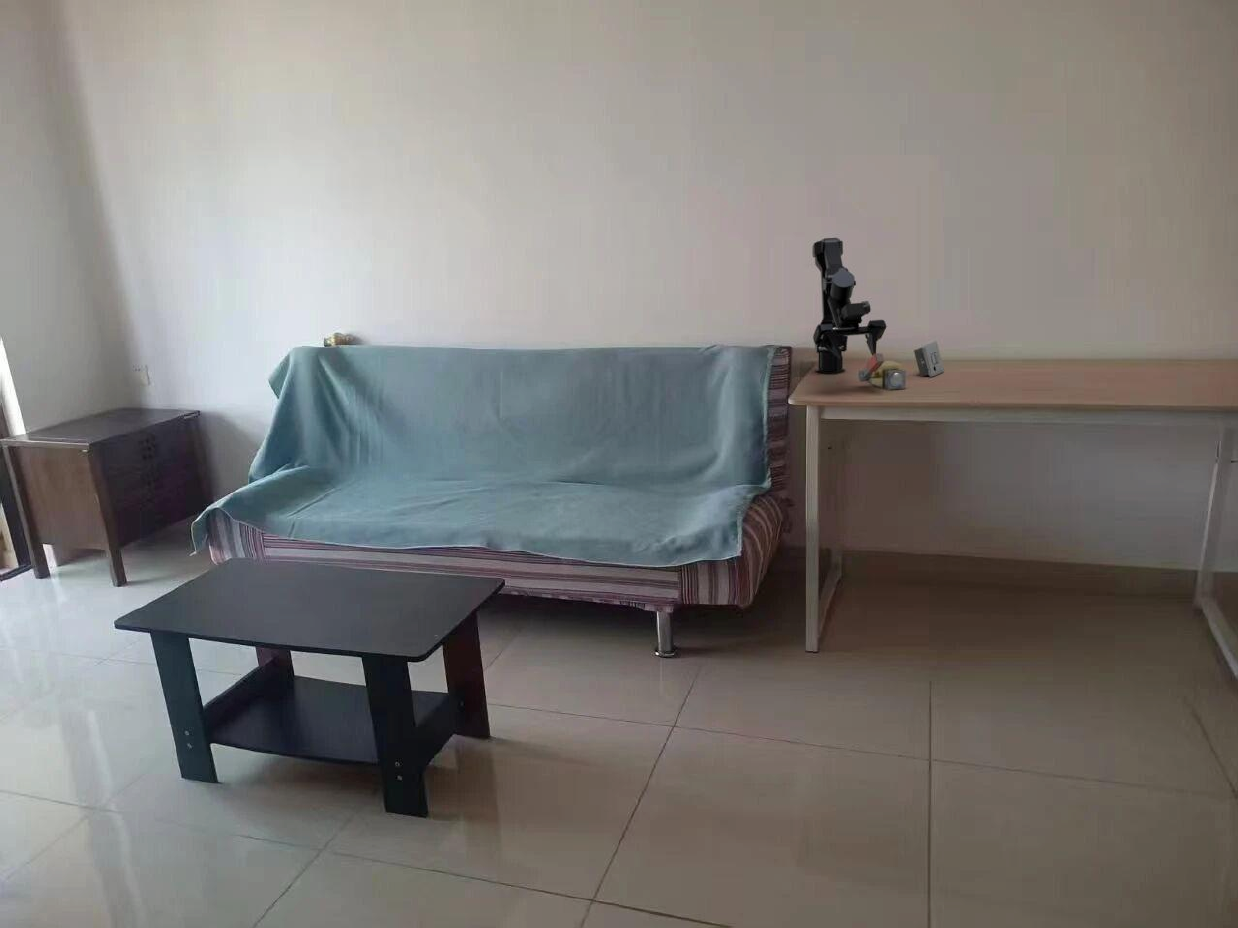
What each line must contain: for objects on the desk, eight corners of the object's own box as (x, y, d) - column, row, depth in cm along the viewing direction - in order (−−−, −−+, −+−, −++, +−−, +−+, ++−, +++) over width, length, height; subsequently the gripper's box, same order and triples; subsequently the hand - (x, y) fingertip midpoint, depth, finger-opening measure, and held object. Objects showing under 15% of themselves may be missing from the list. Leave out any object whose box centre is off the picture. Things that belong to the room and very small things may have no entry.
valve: (857, 381, 270) (858, 360, 268) (884, 379, 271) (885, 358, 269) (879, 391, 255) (880, 369, 254) (908, 388, 256) (908, 366, 255)
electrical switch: (932, 378, 269) (930, 345, 267) (914, 378, 273) (912, 346, 271) (944, 372, 276) (942, 340, 274) (927, 373, 280) (925, 341, 278)
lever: (857, 373, 263) (874, 352, 250) (864, 372, 263) (882, 352, 251) (859, 383, 262) (876, 363, 249) (867, 382, 262) (884, 362, 250)
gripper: (816, 293, 251) (831, 341, 243) (884, 289, 253) (901, 335, 246) (806, 320, 261) (821, 367, 253) (872, 315, 263) (888, 361, 255)
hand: (857, 357), depth 251 cm, fingers open, 9 cm apart
